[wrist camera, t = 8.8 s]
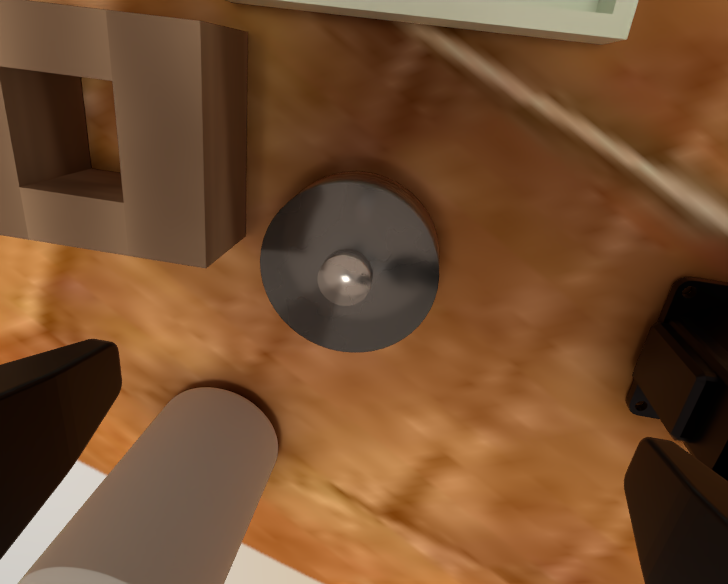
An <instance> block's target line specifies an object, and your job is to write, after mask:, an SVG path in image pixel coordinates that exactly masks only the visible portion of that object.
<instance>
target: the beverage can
mask: <svg viewBox="0 0 728 584" xmlns="http://www.w3.org/2000/svg"><path fill="white" fill-rule="evenodd" d="M277 455H278V441H277V436H276V433H275V430H274V428H273V426H272V424H271V422H270V421H269V419H268V418H267V417H266V416H265V414H264V413H263V412H262V411H261V410H260V409H259V408H258V407H257V406H256V405H254V404H253V403H252V402H250V401H249V400H247V399H246V398H244V397H242V396H240V395H238V394H236V393H233V392H231V391H228V390H224V389H219V388H212V387H201V388H194V389H190V390H187V391H184V392H182V393H180V394H178V395H177V396H175V397H174V398H173V399H172V400H171V401H169V402H168V404H167V405H166V406H165V407H164V408H163V410H162V411H161V412H160V413H159V414H158V416H157V417H156V418H155V419H154V420H153V422H152V423H151V424H150V425H149V426H148V428H147V429H146V430H145V431H144V432H143V434H142V435H141V436H140V437H139V438H138V440H137V441H136V442H135V443H134V444H133V446H132V447H131V448H130V449H129V450H128V452H127V453H126V454H125V455H124V456H123V458H122V459H121V460H120V461H119V462H118V464H117V465H116V466H115V467H114V468H113V470H112V471H111V472H110V473H109V474H108V476H107V477H106V478H105V479H104V481H103V482H102V483H101V484H100V485H99V486H98V488H97V489H96V490H95V491H94V492H93V494H92V495H91V496H90V497H89V498H88V500H87V501H86V502H85V503H84V504H83V506H82V507H81V508H80V509H79V510H78V512H77V513H76V514H75V515H74V516H73V518H72V519H71V520H70V521H69V522H68V524H67V525H66V526H65V527H64V529H63V530H62V531H61V532H60V533H59V534H58V536H57V537H56V538H55V539H54V540H53V542H52V543H51V544H50V545H49V546H48V548H47V549H46V550H45V551H44V553H43V554H42V555H41V556H40V557H39V558H38V560H37V561H36V562H35V563H34V564H33V566H32V567H31V568H30V569H29V570H28V572H27V573H26V574H25V575H24V576H23V578H22V579H21V580H20V581H19V582H18V584H224V582H225V580H226V578H227V575H228V573H229V571H230V568H231V566H232V564H233V561H234V559H235V557H236V554H237V552H238V549H239V547H240V545H241V542H242V540H243V538H244V535H245V533H246V531H247V528H248V526H249V524H250V521H251V519H252V517H253V514H254V512H255V509H256V507H257V505H258V502H259V500H260V498H261V495H262V493H263V491H264V488H265V486H266V484H267V481H268V479H269V477H270V474H271V472H272V469H273V467H274V465H275V462H276V459H277Z"/></svg>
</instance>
